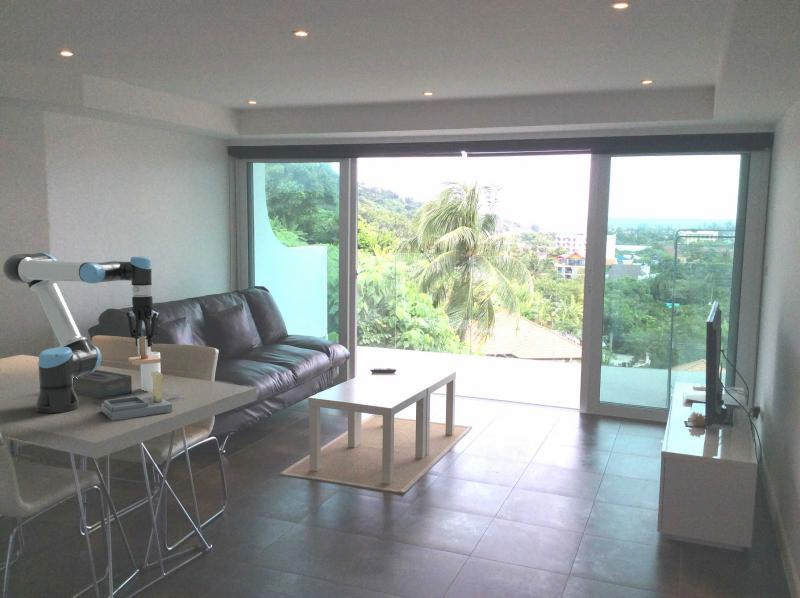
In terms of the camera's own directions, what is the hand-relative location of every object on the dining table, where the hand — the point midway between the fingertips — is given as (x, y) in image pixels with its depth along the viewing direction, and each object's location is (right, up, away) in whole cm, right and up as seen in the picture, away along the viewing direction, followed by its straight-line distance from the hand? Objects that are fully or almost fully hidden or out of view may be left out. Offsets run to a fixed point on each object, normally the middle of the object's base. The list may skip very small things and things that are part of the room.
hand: (144, 354), depth 268 cm
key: (+4, -18, 0) cm, 18 cm away
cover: (0, -3, 0) cm, 3 cm away
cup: (-9, -18, +31) cm, 37 cm away
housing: (0, -22, -7) cm, 23 cm away
